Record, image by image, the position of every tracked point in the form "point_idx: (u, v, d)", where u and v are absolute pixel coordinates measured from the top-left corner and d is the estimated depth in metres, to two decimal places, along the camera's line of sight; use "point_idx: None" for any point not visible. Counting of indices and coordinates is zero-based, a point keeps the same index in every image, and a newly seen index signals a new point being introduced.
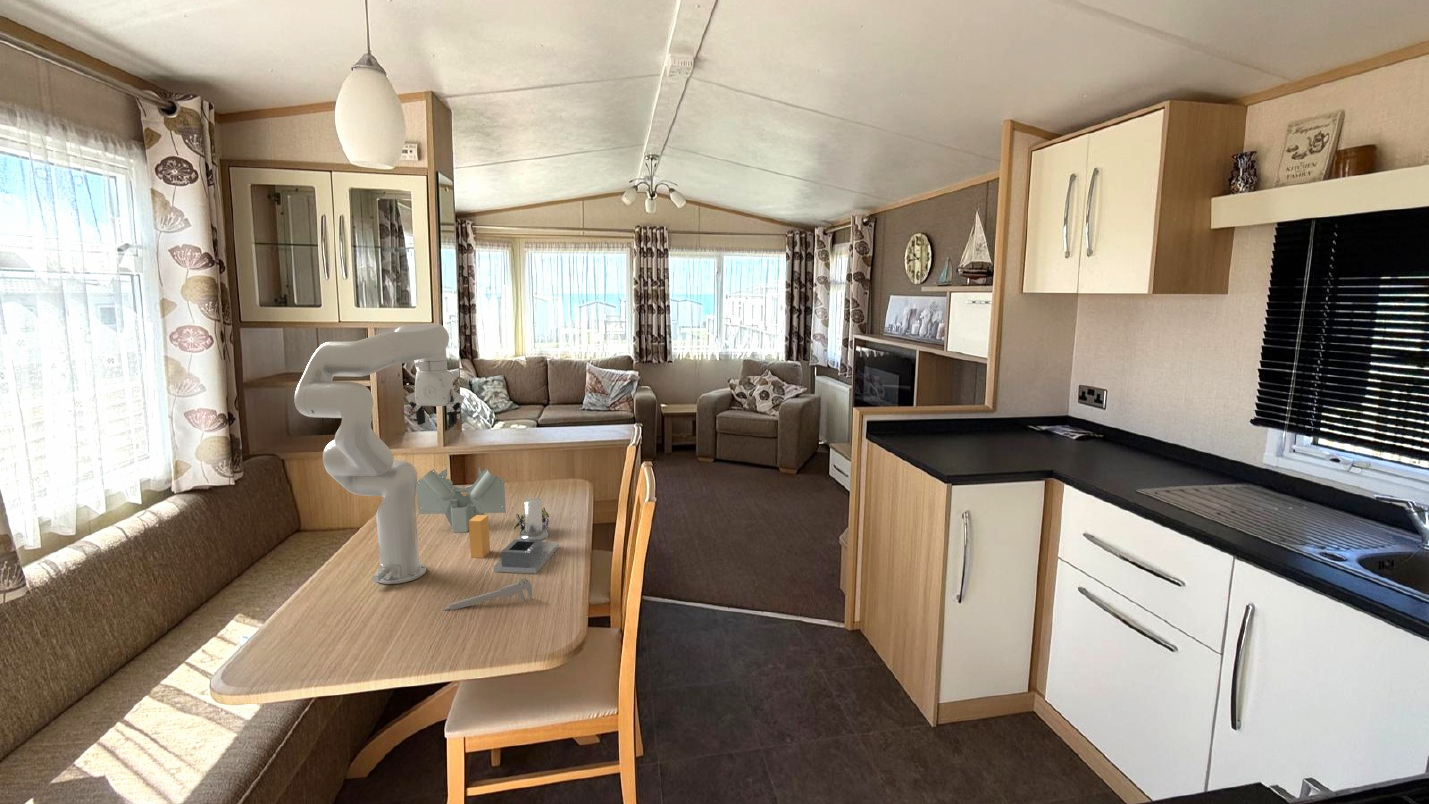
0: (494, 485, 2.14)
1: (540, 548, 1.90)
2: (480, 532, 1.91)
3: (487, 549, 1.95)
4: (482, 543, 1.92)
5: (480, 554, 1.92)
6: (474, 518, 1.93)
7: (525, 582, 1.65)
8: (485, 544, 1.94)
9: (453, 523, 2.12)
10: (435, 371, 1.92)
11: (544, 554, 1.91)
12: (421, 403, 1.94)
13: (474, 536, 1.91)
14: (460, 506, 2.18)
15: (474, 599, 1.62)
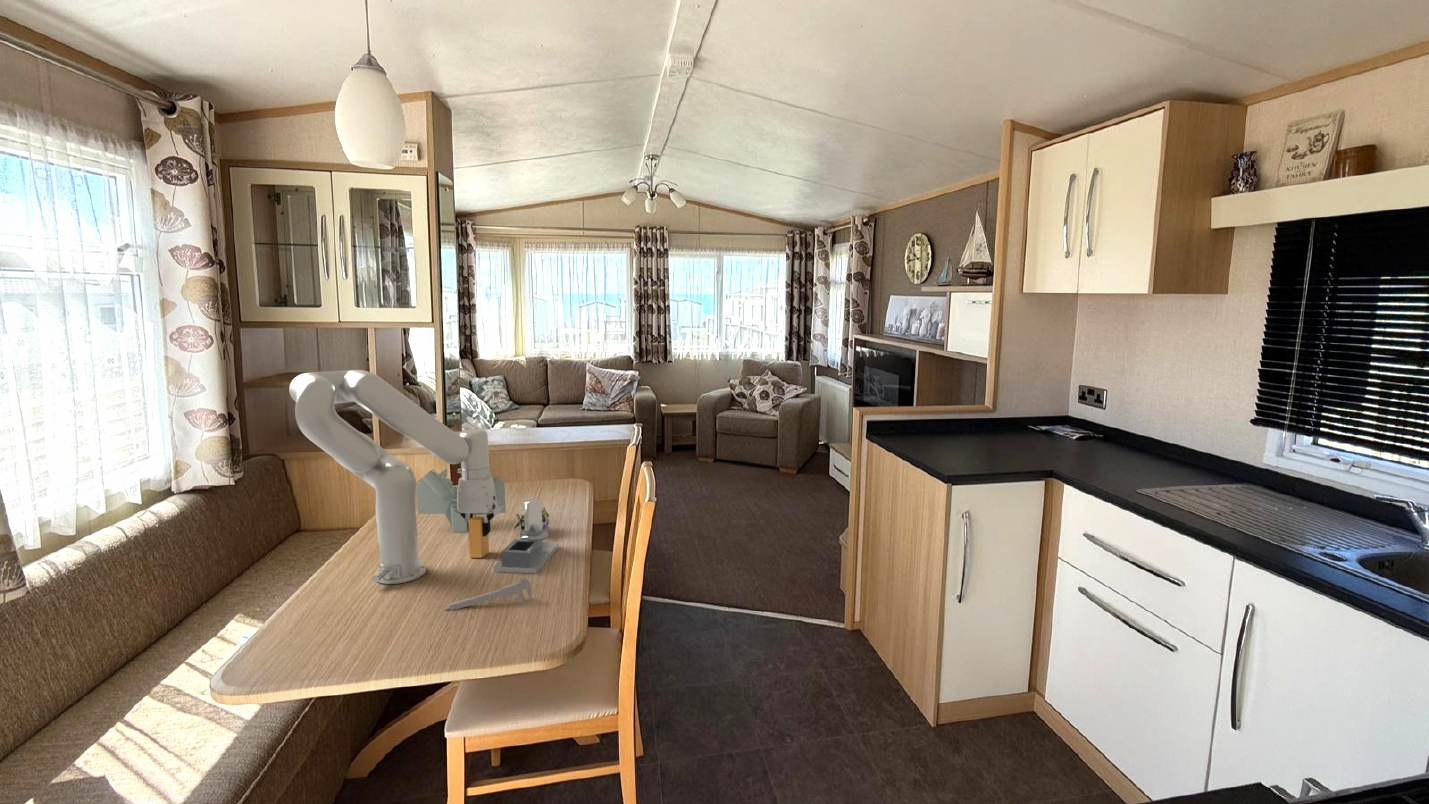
0: (494, 485, 2.14)
1: (540, 548, 1.90)
2: (479, 532, 1.91)
3: (486, 550, 1.95)
4: (481, 543, 1.91)
5: (479, 554, 1.91)
6: (474, 517, 1.92)
7: (525, 582, 1.65)
8: (484, 545, 1.94)
9: (453, 523, 2.12)
10: (478, 479, 1.88)
11: (544, 554, 1.91)
12: (463, 511, 1.90)
13: (473, 536, 1.91)
14: None
15: (474, 599, 1.62)
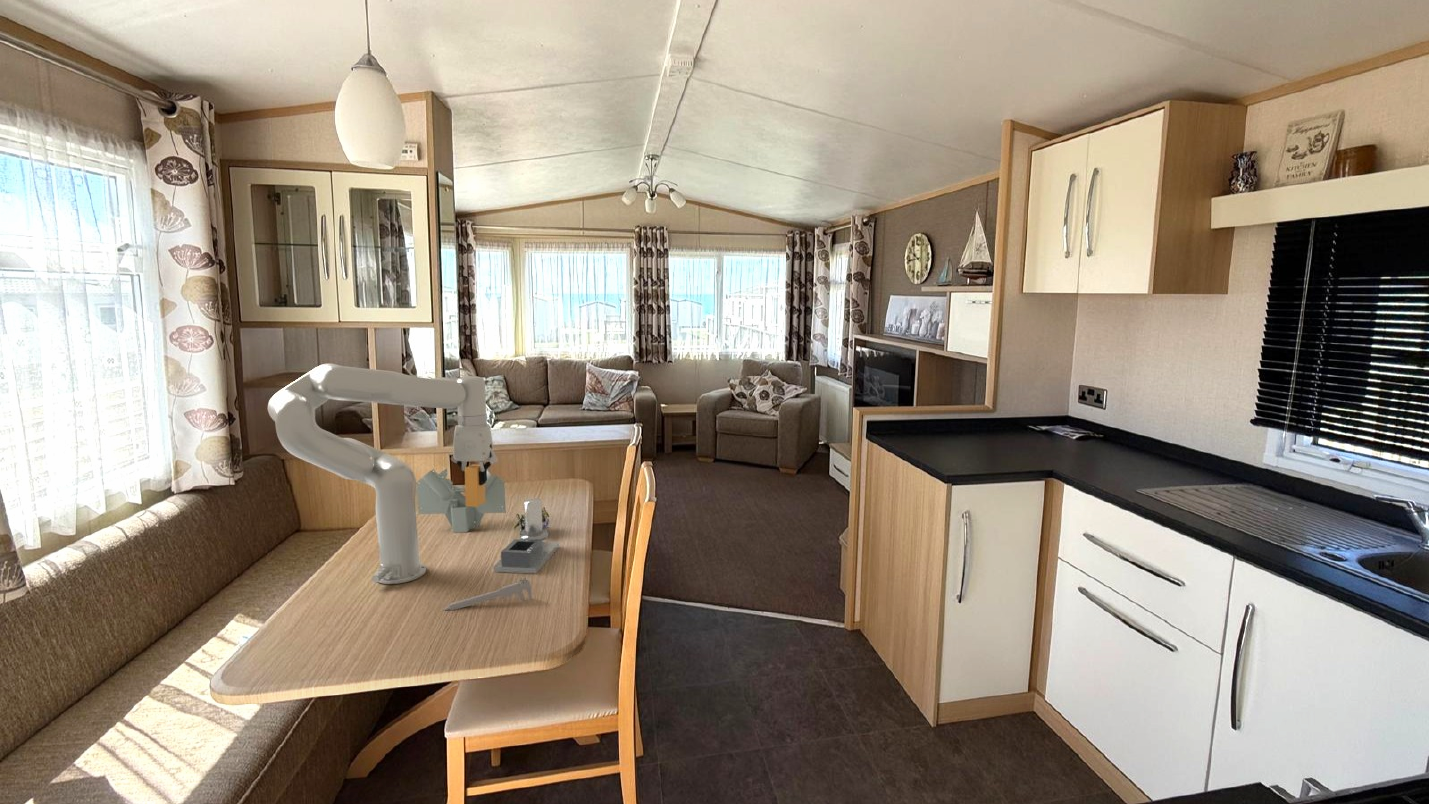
0: (494, 485, 2.14)
1: (540, 548, 1.90)
2: (475, 480, 1.88)
3: (482, 500, 1.92)
4: (477, 492, 1.89)
5: (475, 503, 1.89)
6: (470, 466, 1.90)
7: (524, 582, 1.65)
8: (481, 494, 1.91)
9: (453, 523, 2.12)
10: (475, 426, 1.85)
11: (544, 554, 1.91)
12: (460, 458, 1.87)
13: (469, 484, 1.88)
14: (460, 506, 2.18)
15: (473, 599, 1.62)
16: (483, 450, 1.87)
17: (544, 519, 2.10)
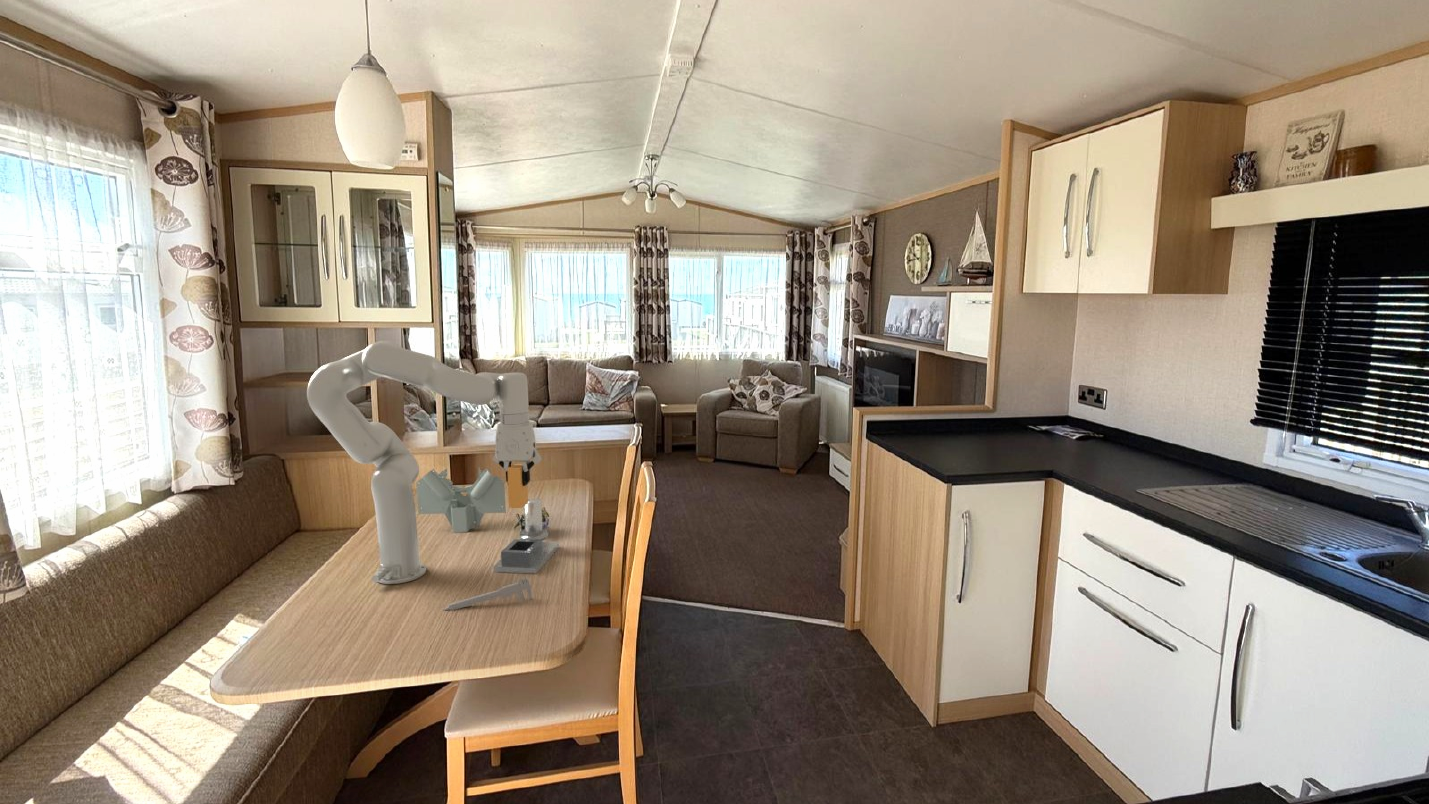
0: (494, 485, 2.14)
1: (540, 548, 1.90)
2: (519, 480, 1.81)
3: (525, 500, 1.85)
4: (521, 493, 1.81)
5: (519, 504, 1.81)
6: (513, 466, 1.83)
7: (524, 582, 1.65)
8: (524, 495, 1.84)
9: (453, 523, 2.12)
10: (518, 424, 1.78)
11: (544, 554, 1.91)
12: (502, 458, 1.80)
13: (513, 485, 1.81)
14: (460, 506, 2.18)
15: (473, 599, 1.62)
16: (527, 449, 1.79)
17: (544, 519, 2.10)
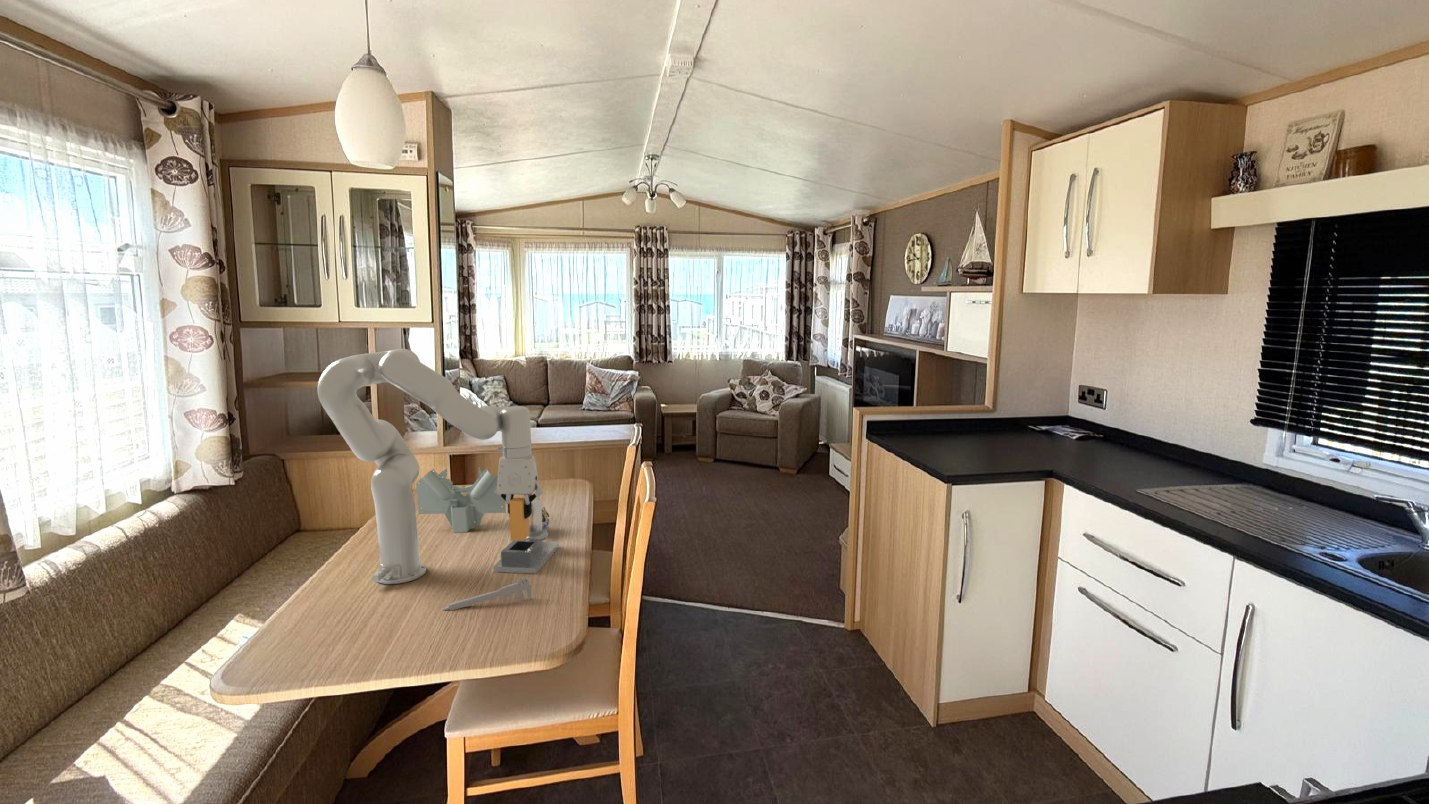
0: (494, 485, 2.14)
1: (540, 548, 1.90)
2: (521, 513, 1.82)
3: (527, 533, 1.86)
4: (523, 525, 1.83)
5: (521, 537, 1.83)
6: (515, 499, 1.84)
7: (524, 582, 1.65)
8: (526, 527, 1.85)
9: (453, 523, 2.12)
10: (520, 458, 1.79)
11: (544, 554, 1.91)
12: (504, 491, 1.81)
13: (514, 518, 1.82)
14: (460, 506, 2.18)
15: (473, 599, 1.62)
16: (529, 483, 1.80)
17: (544, 519, 2.10)
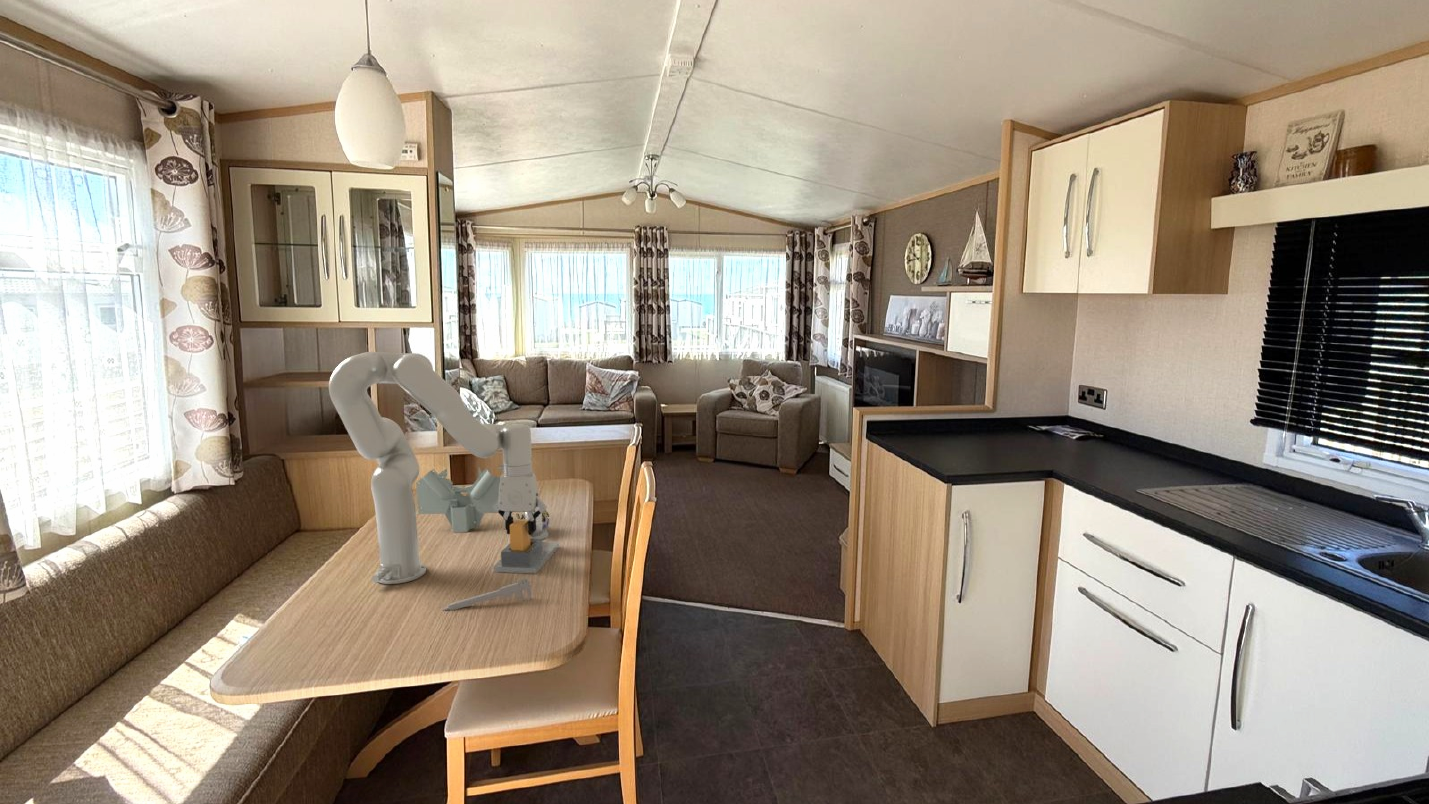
0: (494, 485, 2.14)
1: (540, 548, 1.90)
2: (521, 538, 1.83)
3: None
4: (523, 549, 1.84)
5: None
6: (515, 523, 1.84)
7: (524, 582, 1.65)
8: None
9: (453, 523, 2.12)
10: (521, 476, 1.80)
11: (544, 554, 1.91)
12: (505, 509, 1.82)
13: (515, 542, 1.83)
14: (460, 506, 2.18)
15: (473, 599, 1.62)
16: (530, 500, 1.81)
17: (544, 519, 2.10)
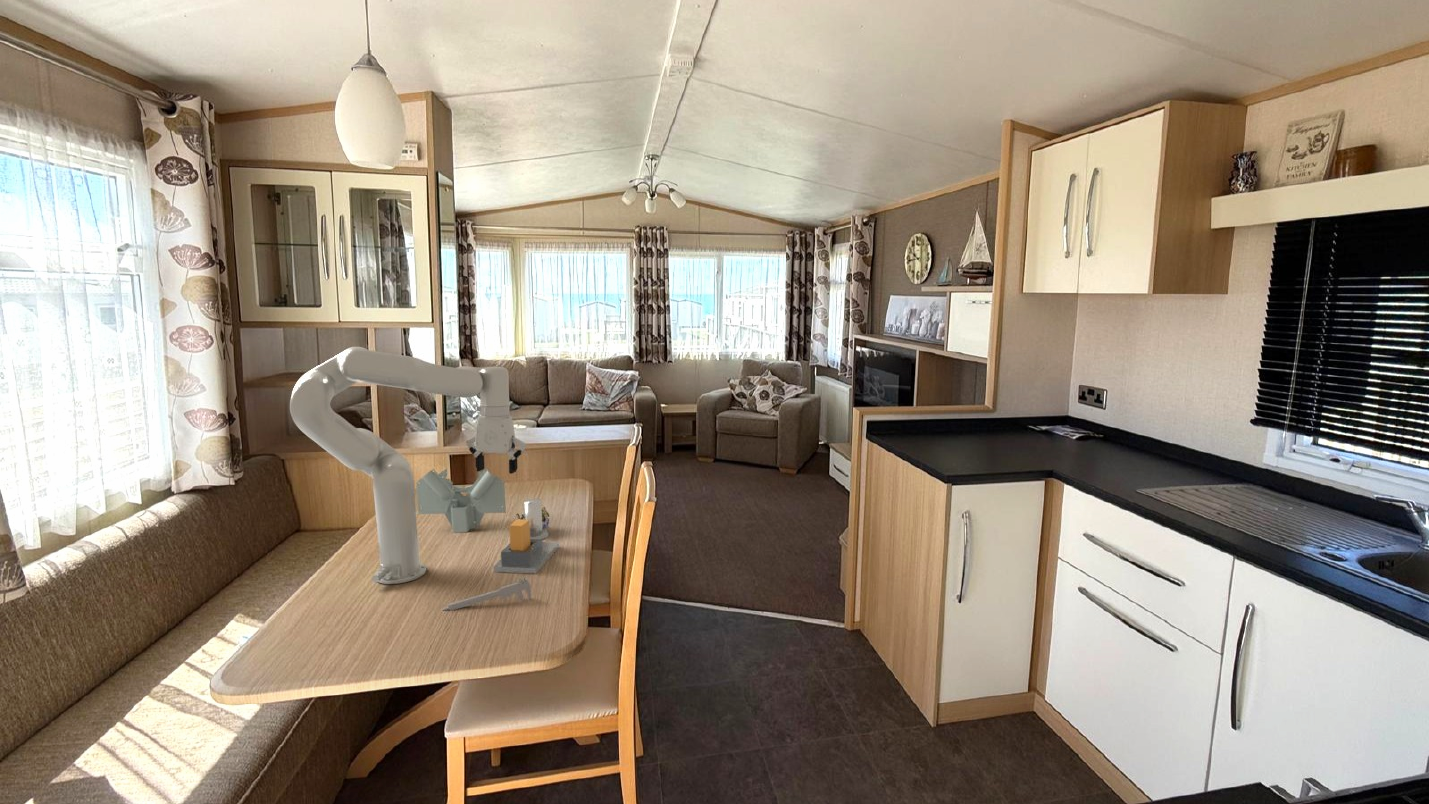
0: (494, 485, 2.14)
1: (540, 548, 1.90)
2: (521, 538, 1.83)
3: None
4: (523, 549, 1.84)
5: None
6: (515, 523, 1.84)
7: (524, 582, 1.65)
8: None
9: (453, 523, 2.12)
10: (497, 417, 1.83)
11: (544, 554, 1.91)
12: (481, 449, 1.85)
13: (515, 542, 1.83)
14: (460, 506, 2.18)
15: (473, 599, 1.62)
16: (505, 442, 1.84)
17: (544, 519, 2.11)
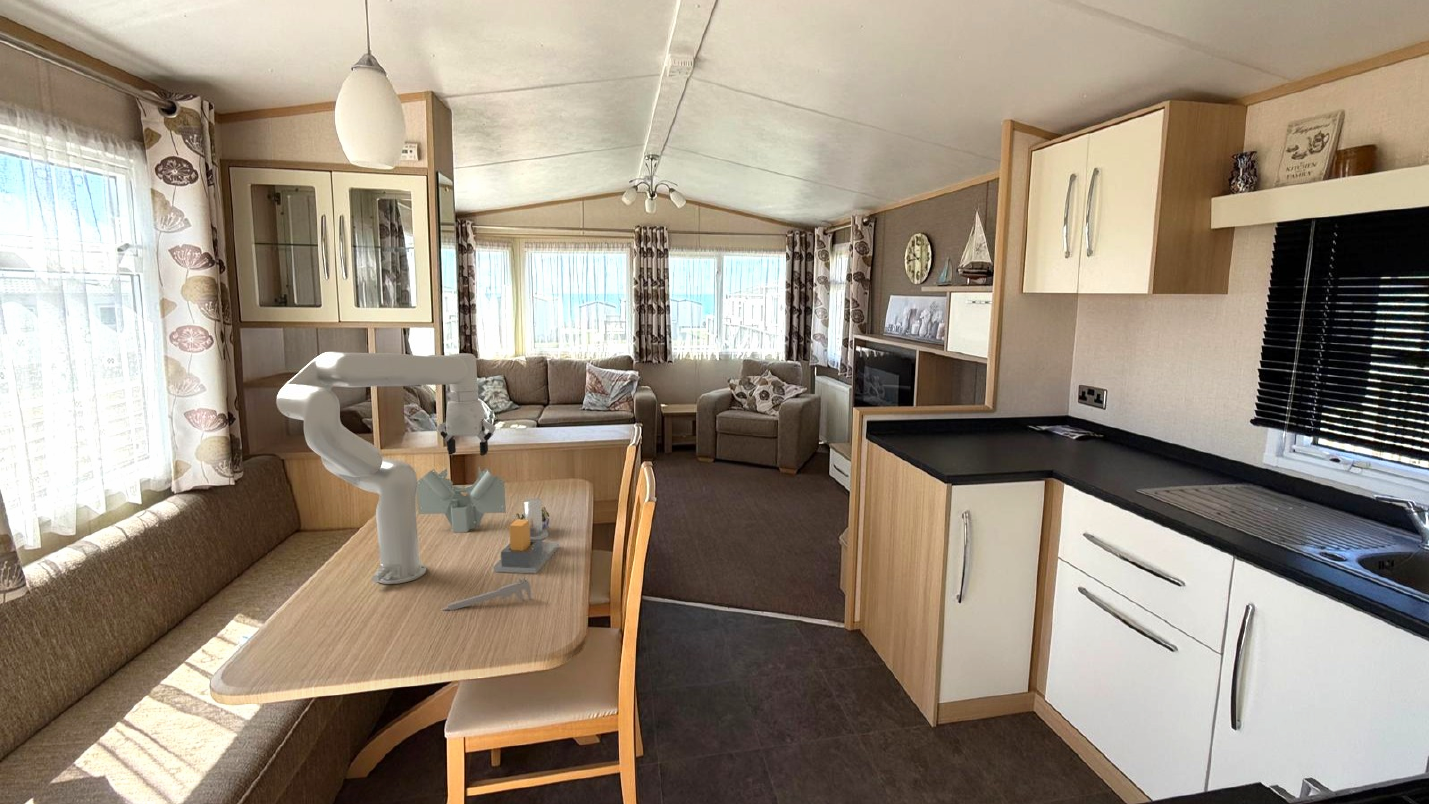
0: (494, 485, 2.14)
1: (540, 548, 1.90)
2: (521, 538, 1.83)
3: None
4: (523, 549, 1.84)
5: None
6: (515, 523, 1.84)
7: (524, 582, 1.65)
8: None
9: (453, 523, 2.12)
10: (467, 401, 1.91)
11: (544, 554, 1.91)
12: (452, 433, 1.93)
13: (515, 542, 1.83)
14: (460, 506, 2.18)
15: (473, 599, 1.62)
16: (475, 425, 1.92)
17: (544, 519, 2.11)
